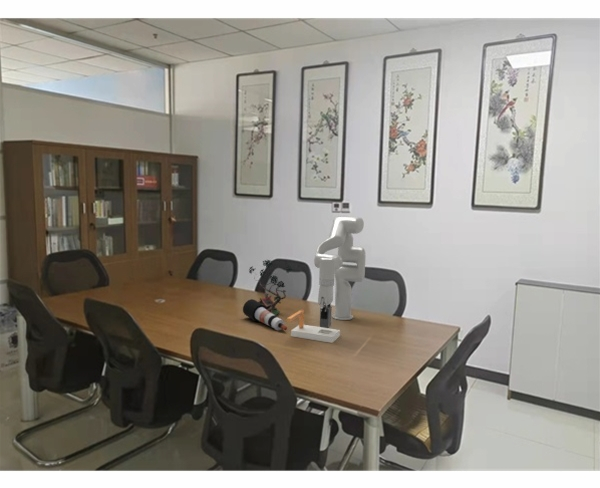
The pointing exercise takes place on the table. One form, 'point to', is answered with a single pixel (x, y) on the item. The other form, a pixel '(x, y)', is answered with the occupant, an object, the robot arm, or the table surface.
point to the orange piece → (296, 315)
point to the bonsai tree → (267, 300)
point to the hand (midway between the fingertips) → (325, 317)
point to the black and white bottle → (262, 315)
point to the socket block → (316, 333)
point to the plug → (326, 322)
